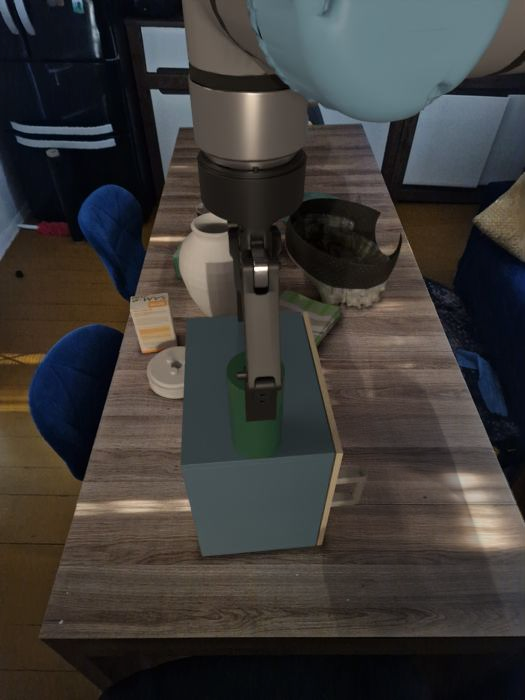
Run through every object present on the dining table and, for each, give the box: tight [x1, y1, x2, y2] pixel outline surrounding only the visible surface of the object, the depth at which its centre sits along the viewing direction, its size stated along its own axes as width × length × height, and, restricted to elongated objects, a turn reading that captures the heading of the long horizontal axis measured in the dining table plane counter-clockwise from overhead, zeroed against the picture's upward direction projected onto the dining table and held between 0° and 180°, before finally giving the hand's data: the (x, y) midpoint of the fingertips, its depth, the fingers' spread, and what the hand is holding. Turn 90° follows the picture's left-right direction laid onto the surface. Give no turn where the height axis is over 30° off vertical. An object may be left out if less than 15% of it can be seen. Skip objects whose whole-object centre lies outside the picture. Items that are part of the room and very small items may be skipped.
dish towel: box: [279, 290, 342, 349], centre depth 107 cm, size 17×23×4 cm
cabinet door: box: [302, 312, 369, 546], centre depth 72 cm, size 6×26×27 cm, turn 5°
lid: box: [146, 345, 185, 399], centre depth 95 cm, size 13×13×5 cm
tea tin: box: [226, 351, 285, 459], centre depth 50 cm, size 6×6×12 cm
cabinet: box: [180, 312, 335, 557], centre depth 71 cm, size 18×26×27 cm
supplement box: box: [129, 292, 178, 354], centre depth 100 cm, size 8×5×13 cm, turn 100°
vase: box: [179, 213, 237, 317], centre depth 104 cm, size 18×18×25 cm
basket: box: [283, 198, 403, 309], centre depth 119 cm, size 28×35×16 cm
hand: (254, 363), depth 45 cm, fingers open, 13 cm apart
